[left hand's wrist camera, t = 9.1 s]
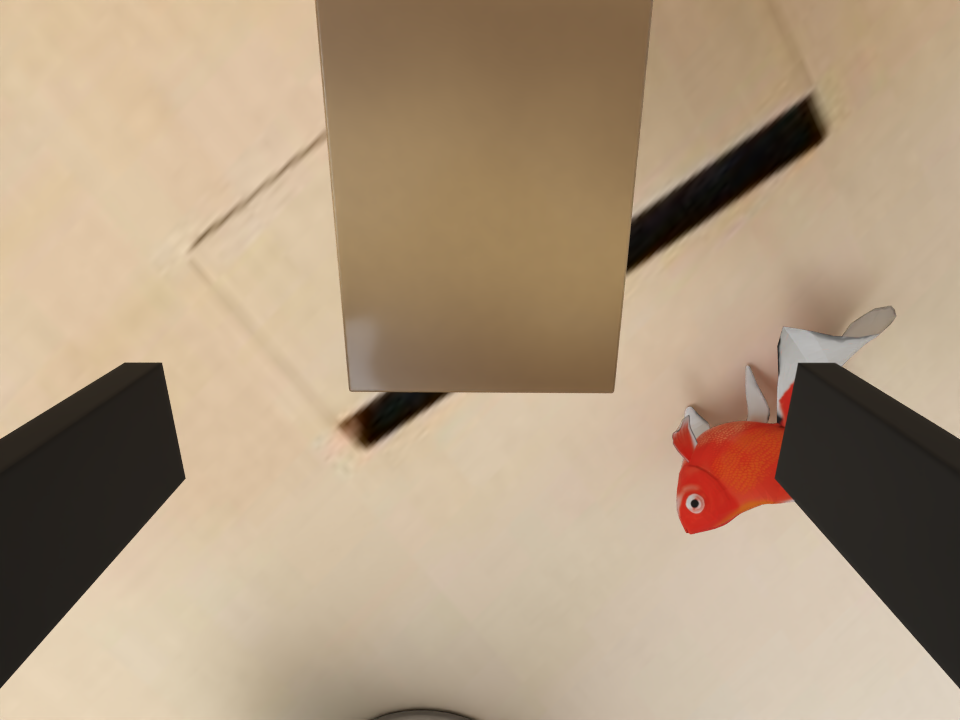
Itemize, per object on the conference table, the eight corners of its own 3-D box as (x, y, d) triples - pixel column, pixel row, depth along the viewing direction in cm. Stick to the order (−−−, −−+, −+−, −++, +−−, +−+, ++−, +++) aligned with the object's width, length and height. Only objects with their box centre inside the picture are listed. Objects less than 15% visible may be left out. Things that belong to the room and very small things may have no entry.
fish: (590, 396, 31) (756, 508, 23) (785, 231, 34) (988, 281, 26) (633, 505, 37) (773, 620, 30) (793, 358, 40) (957, 428, 33)
